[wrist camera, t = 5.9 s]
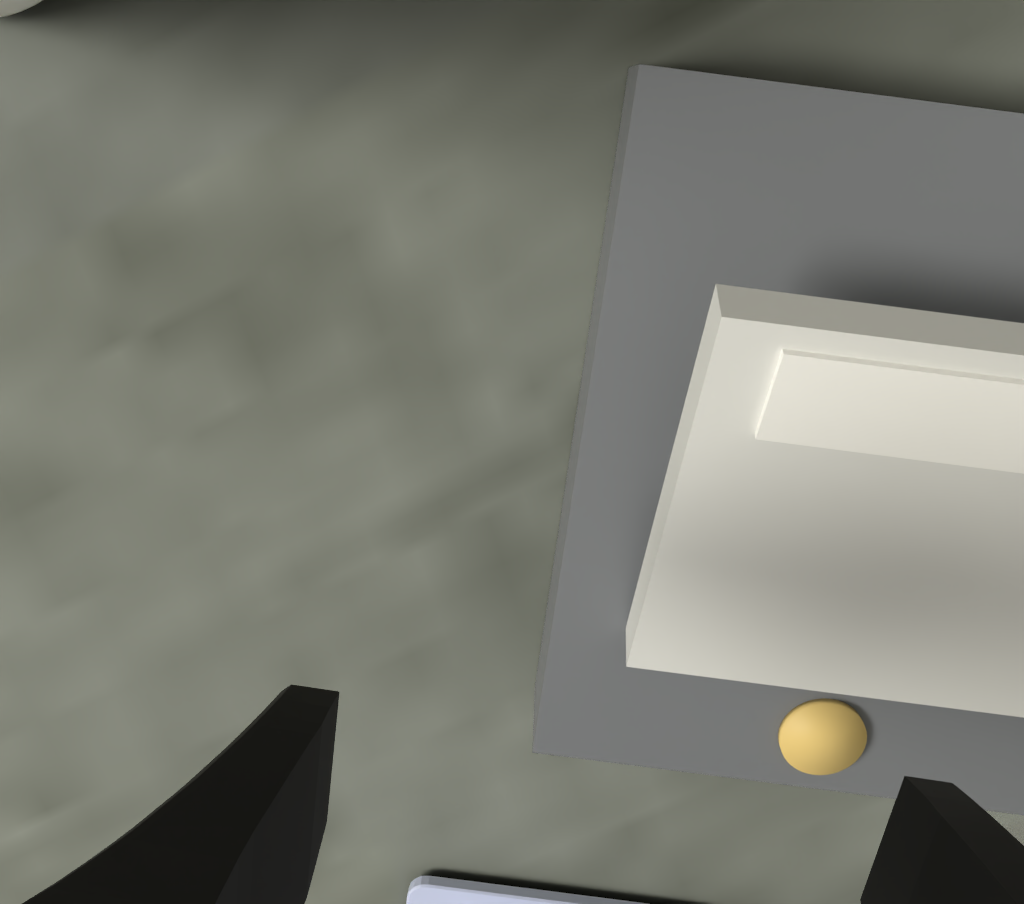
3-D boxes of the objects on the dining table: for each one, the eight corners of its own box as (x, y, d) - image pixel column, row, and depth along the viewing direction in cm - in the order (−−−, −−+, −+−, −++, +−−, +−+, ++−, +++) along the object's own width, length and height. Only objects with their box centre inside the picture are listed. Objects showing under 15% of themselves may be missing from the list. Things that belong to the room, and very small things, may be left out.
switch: (1059, 683, 20) (1081, 731, 19) (625, 628, 20) (626, 672, 19) (1294, 357, 15) (1340, 401, 14) (715, 283, 15) (722, 322, 14)
